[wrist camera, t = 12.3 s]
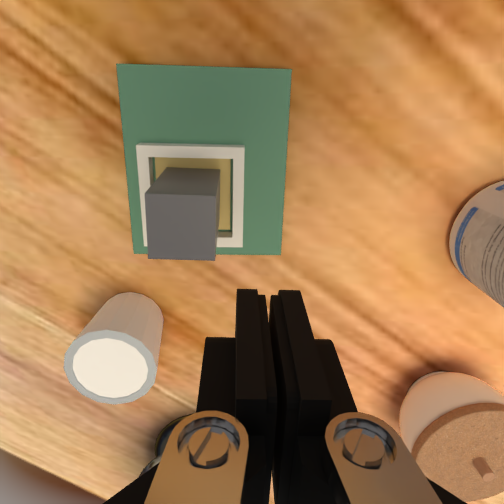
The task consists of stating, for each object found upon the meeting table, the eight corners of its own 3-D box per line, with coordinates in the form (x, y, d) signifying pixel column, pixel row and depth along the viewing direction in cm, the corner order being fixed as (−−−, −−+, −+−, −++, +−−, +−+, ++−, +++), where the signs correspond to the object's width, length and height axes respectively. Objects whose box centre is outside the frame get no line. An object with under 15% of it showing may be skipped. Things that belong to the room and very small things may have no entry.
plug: (166, 167, 30) (144, 193, 22) (220, 169, 30) (216, 196, 23) (168, 227, 32) (148, 270, 24) (219, 229, 32) (214, 272, 24)
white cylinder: (150, 275, 35) (130, 318, 28) (182, 337, 37) (171, 389, 31) (79, 300, 35) (44, 348, 29) (116, 359, 38) (91, 416, 31)
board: (120, 64, 28) (110, 62, 26) (289, 69, 29) (294, 68, 26) (137, 248, 34) (129, 260, 31) (279, 249, 34) (282, 261, 32)
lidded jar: (509, 378, 41) (583, 457, 32) (440, 446, 44) (491, 535, 35) (429, 335, 38) (486, 408, 30) (362, 411, 42) (396, 497, 33)
